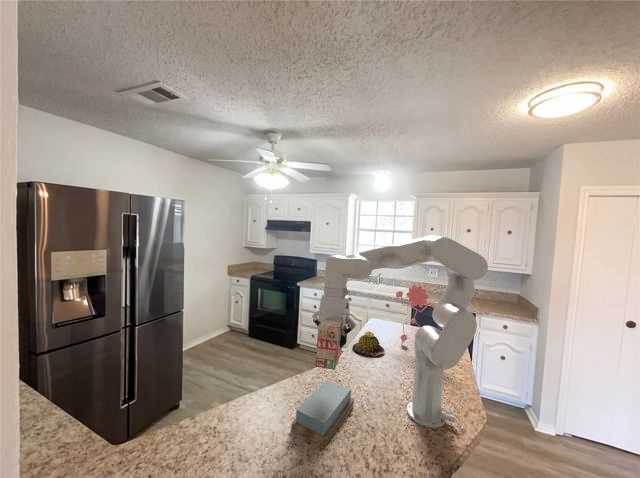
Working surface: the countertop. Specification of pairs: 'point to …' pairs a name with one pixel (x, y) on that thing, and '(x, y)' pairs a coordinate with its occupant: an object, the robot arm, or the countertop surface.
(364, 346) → the cactus
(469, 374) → the countertop surface
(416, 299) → the pink flower arrangement
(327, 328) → the stack of blocks
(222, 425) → the countertop surface
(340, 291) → the robot arm
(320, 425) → the tower top slab
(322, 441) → the tower base slab
